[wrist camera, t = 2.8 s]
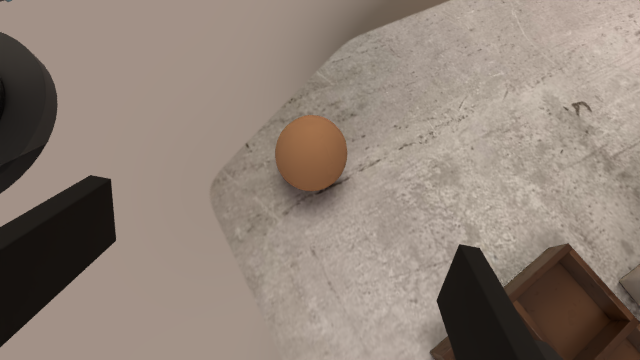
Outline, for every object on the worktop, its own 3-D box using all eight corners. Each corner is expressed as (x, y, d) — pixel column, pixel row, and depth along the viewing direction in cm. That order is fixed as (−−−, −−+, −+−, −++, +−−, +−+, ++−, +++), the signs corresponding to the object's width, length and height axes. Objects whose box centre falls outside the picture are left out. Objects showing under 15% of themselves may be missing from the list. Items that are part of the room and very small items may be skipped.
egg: (325, 133, 37) (333, 86, 29) (351, 186, 35) (368, 151, 27) (267, 154, 35) (260, 111, 28) (291, 211, 33) (291, 181, 26)
